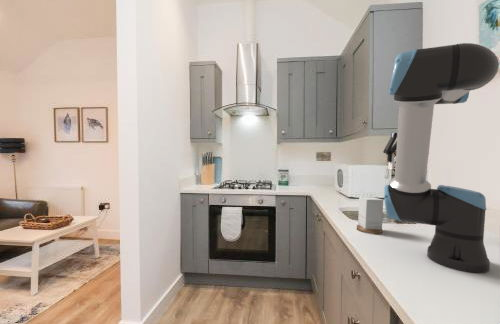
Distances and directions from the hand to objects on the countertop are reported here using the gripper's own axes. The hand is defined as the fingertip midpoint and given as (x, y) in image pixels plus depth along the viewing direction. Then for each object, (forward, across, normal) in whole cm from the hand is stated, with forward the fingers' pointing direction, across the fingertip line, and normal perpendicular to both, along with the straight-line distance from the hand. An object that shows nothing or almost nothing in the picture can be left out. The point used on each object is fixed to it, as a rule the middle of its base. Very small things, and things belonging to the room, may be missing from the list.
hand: (405, 169), depth 115 cm
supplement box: (+25, +18, +4) cm, 31 cm away
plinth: (+27, +18, +4) cm, 32 cm away
